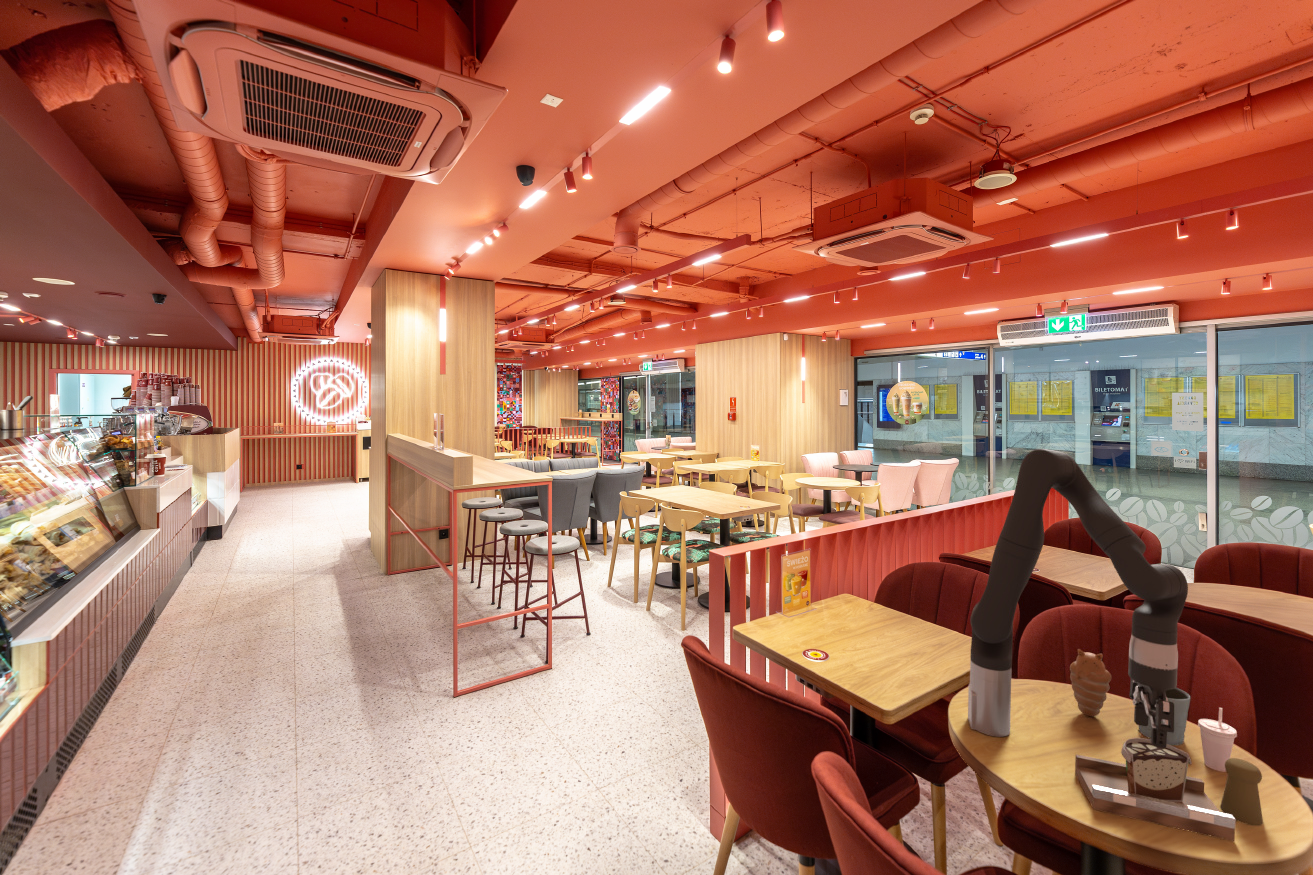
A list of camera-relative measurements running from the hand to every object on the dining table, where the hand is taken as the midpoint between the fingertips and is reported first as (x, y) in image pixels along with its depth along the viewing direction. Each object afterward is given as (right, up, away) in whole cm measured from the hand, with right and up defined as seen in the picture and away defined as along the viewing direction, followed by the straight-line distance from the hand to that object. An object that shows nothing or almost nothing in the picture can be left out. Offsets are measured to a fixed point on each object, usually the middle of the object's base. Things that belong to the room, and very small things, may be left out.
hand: (1149, 734), depth 114 cm
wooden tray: (0, -15, +1) cm, 15 cm away
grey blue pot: (+26, -14, +26) cm, 39 cm away
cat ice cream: (+15, -14, +35) cm, 40 cm away
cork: (+17, -15, -2) cm, 23 cm away
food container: (0, -13, +1) cm, 13 cm away
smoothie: (+27, -15, +13) cm, 34 cm away
